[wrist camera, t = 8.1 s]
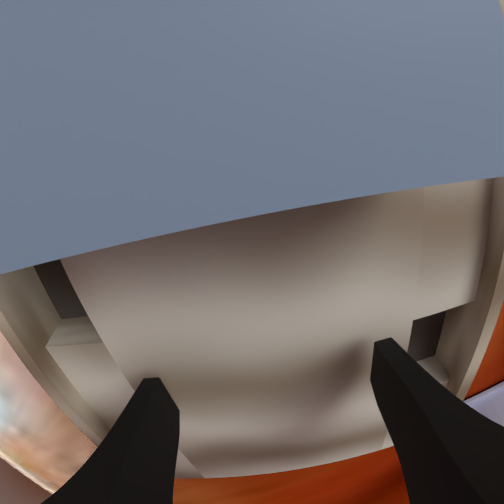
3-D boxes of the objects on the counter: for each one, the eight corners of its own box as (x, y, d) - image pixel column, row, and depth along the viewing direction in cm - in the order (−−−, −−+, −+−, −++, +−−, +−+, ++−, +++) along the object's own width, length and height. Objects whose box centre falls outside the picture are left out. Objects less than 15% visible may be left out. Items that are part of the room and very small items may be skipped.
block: (409, 134, 7) (515, 175, 4) (54, 208, 8) (-31, 283, 4) (377, -37, 5) (462, -93, 1) (15, 51, 5) (-89, 53, 2)
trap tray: (423, 408, 17) (439, 442, 14) (154, 453, 18) (149, 489, 15) (444, -35, 6) (492, -54, 3) (-33, 73, 7) (-85, 81, 4)
